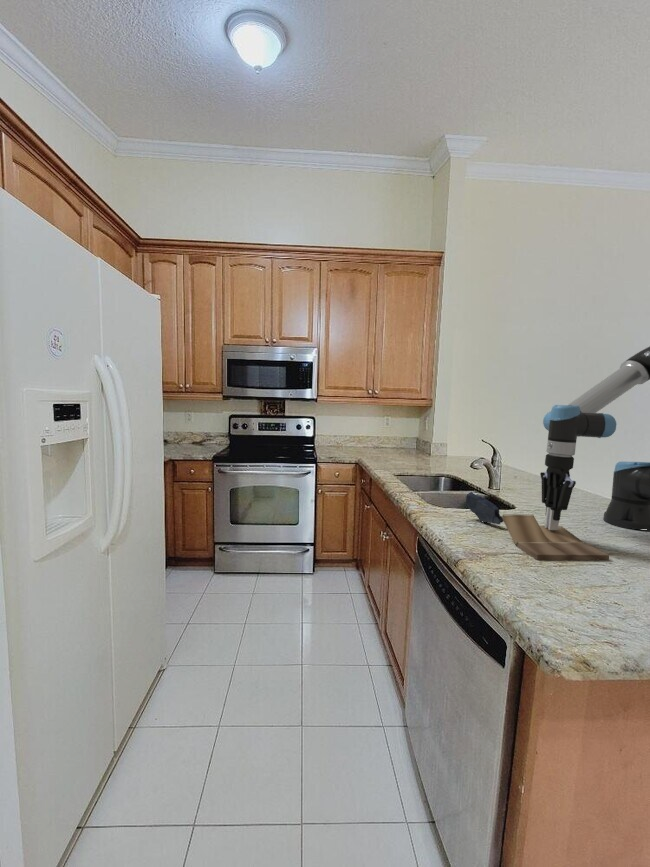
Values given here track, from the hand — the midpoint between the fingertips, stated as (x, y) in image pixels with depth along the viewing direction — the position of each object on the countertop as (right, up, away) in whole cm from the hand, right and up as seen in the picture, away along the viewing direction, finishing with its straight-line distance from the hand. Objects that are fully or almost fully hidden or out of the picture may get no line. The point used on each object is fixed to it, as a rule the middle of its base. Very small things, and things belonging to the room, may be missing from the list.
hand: (551, 528), depth 121 cm
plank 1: (-10, 0, -3) cm, 11 cm away
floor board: (-4, -4, -12) cm, 14 cm away
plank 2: (0, -2, -2) cm, 3 cm away
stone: (-16, -2, +13) cm, 21 cm away
